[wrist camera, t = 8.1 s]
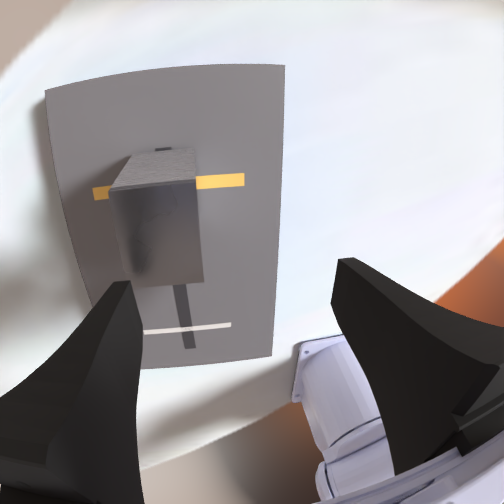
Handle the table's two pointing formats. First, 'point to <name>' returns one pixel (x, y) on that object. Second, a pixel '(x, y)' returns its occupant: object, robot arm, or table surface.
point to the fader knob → (158, 219)
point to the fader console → (208, 197)
